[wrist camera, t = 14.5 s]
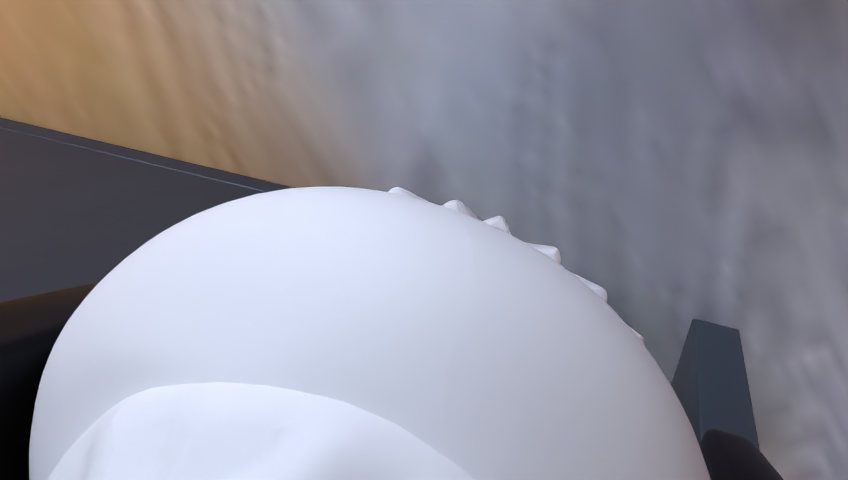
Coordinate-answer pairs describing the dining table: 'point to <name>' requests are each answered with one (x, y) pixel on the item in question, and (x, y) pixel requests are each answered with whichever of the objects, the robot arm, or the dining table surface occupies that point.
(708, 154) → the dining table surface
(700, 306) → the dining table surface
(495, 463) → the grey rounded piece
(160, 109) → the dining table surface
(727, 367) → the drawer
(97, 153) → the cabinet
